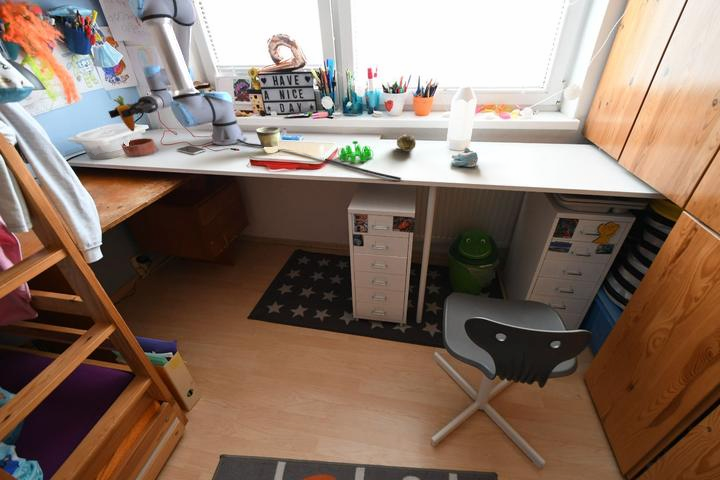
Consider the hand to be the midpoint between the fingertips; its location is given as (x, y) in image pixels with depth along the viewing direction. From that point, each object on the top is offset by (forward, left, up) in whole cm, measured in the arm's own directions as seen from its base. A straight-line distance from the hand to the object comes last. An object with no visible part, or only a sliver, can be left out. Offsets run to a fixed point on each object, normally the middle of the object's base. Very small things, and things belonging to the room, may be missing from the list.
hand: (116, 114), depth 138 cm
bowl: (+3, -5, -18) cm, 19 cm away
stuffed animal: (-132, -63, -19) cm, 148 cm away
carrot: (+3, -5, -9) cm, 10 cm away
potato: (-105, -66, -19) cm, 126 cm away
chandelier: (-91, -48, -19) cm, 105 cm away
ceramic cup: (-51, -38, -19) cm, 66 cm away
